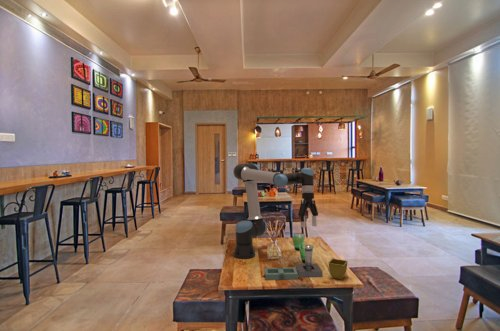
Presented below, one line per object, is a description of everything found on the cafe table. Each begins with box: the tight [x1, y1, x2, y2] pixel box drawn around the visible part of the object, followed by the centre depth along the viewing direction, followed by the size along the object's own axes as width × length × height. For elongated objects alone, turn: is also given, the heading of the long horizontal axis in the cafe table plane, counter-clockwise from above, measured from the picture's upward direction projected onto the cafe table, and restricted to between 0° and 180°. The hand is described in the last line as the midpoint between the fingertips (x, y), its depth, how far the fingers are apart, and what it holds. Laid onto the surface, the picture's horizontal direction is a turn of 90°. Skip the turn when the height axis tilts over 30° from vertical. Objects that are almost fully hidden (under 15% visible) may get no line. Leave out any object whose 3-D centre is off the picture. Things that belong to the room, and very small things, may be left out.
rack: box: [264, 266, 299, 281], centre depth 173 cm, size 10×18×3 cm, turn 91°
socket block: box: [295, 263, 323, 278], centre depth 177 cm, size 13×13×3 cm
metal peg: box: [304, 244, 313, 270], centre depth 177 cm, size 4×4×16 cm
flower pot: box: [327, 258, 348, 280], centre depth 169 cm, size 9×9×9 cm
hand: (309, 226), depth 187 cm, fingers open, 13 cm apart
